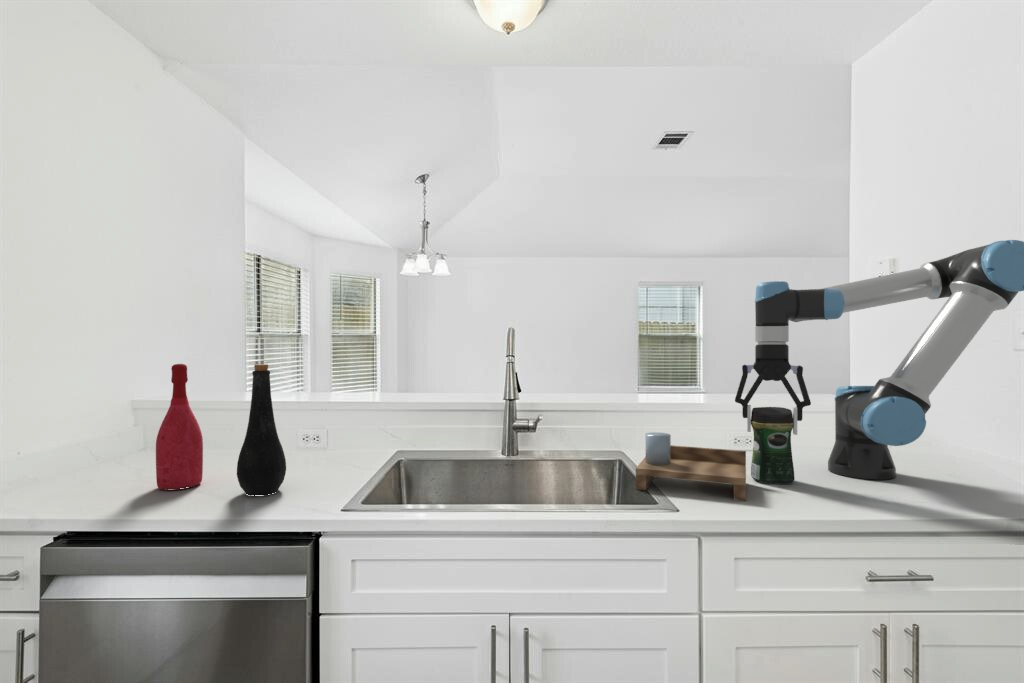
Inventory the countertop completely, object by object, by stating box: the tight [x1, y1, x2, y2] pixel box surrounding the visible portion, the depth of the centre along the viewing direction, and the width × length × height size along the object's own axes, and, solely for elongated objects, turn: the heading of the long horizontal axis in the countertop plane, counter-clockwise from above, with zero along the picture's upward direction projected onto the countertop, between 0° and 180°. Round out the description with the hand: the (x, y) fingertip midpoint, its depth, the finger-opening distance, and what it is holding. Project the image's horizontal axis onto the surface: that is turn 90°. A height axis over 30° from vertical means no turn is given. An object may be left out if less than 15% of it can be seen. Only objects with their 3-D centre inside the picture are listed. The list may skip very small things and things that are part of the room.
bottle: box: [236, 363, 287, 496], centre depth 126 cm, size 11×11×30 cm
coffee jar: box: [750, 406, 796, 485], centre depth 135 cm, size 10×8×19 cm
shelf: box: [635, 445, 747, 502], centre depth 130 cm, size 24×16×8 cm, turn 66°
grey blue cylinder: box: [645, 431, 672, 465], centre depth 134 cm, size 6×6×7 cm
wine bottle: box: [155, 363, 204, 491], centre depth 132 cm, size 10×10×30 cm
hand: (771, 432), depth 135 cm, fingers closed on coffee jar, 10 cm apart
